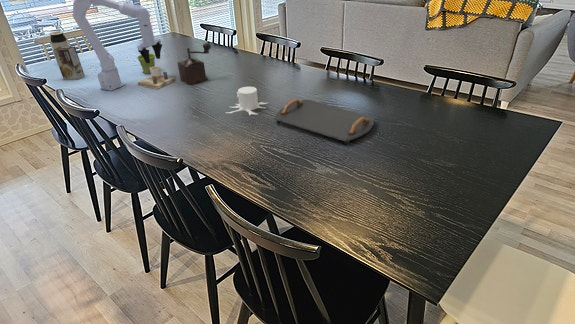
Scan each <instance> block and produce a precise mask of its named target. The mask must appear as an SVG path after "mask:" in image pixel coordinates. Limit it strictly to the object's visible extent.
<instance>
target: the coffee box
mask: <svg viewBox="0 0 575 324" xmlns="http://www.w3.org/2000/svg"><path fill="white" fill-rule="evenodd" d="M52 52H53V55H54V58H55V60H56V63H57V66H58V68H59V70H60V71H59V72H60V74H61V76H62V79H63V81H64V80H80V79H82V78H83V77H85V76H86V75H85V72H84V69H83V66H82V63H81V61H80V57H79V54H78V52H77V48H76V46H71V45H68V46H66V47H58V48H56V49H54V48H53V49H52Z"/></svg>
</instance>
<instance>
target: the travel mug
mask: <svg viewBox="0 0 575 324" xmlns="http://www.w3.org/2000/svg"><path fill="white" fill-rule="evenodd" d="M48 35H49V36H50V42H51V45H52V47H53V50H54V49H56V48H58V47H66V46H69V43H68V41H67V37H66V36H65V34H64V31H62V30H58V31H57V30H56V31H51V32H49V33H48Z"/></svg>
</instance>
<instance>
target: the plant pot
mask: <svg viewBox="0 0 575 324" xmlns="http://www.w3.org/2000/svg"><path fill="white" fill-rule="evenodd" d="M136 58H137V60H138V61H139V63H140V66H141V68H142V70H143V73H145V74H151V72H150V68H151V67H155V66H156V65H155V64H156V62H155V61H156V60H155V59H156V56H155V53H149V59H150V63H146V62H145V60H144V58H143V56H142V55H141V54H140V55H138V56H137V57H136Z"/></svg>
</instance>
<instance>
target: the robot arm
mask: <svg viewBox="0 0 575 324" xmlns="http://www.w3.org/2000/svg"><path fill="white" fill-rule="evenodd" d="M91 6H92V7H97V6H101V7H102V6H103V7H106V8H108V9H113V10H117V11H118V13H120V14H121V15H123V16H127V17H131V18H133V19H138V21H137V22H138V27H139V31H140V36H141V38H142V39H141V40H142V43H141V44H139V45H137V52H139V54H140V55H142V56H143V58H144V60H145V62H146V63H150V59H149V54H150V49H147V48H150V47H151V48H152V50H153V52H154V53H153V54H154V55H155V59H157V60H159V59H161V52H162V47H163V44H162V41H161V38H155V35H154V31H153V26H152V22H151V19H150V18H151V14H150V13H149V11H148V10H147V8H146V7H144V6H140V5H139V4H137V5H136V4H134V3H133V4H132V3H130V1H128V0H126V1H121V2H117V1H114V0H73V3H72V18H73V20H74V21H75V23H76V24H77V26H78V27H79V29H80V30H81V32H82V34H83V35H84V37H85V39H86V40H87V42H88V44H89V45H90V47H91V48H92V50H93V51H94V53H95V54H96V57H97V59H98V60H99V63H100V64H99V65H100V67H101V69H100V70H101V71H100V72H99V73H98V74H97V79H98V82H99V85H100V87H99V89H100V90H106V91H110V92H111V91H114V90H117V89H119V88H121V87H123V86H126V83H124V82H122V80H121V77H120V73H119V69H118V67H117V66H116V63H115V58H114V56H113V55H112V54H110V53H109V52H108V50H107V49H106V48H105V46H104V45H103V43H102V42H101V40H100V38H99V36H98V34H97V33H96V31H95V30H94V29H93V27H92V26H91V23H90V22H89V20H88V19H87V12H88V11H89V9H90V8H91Z"/></svg>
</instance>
